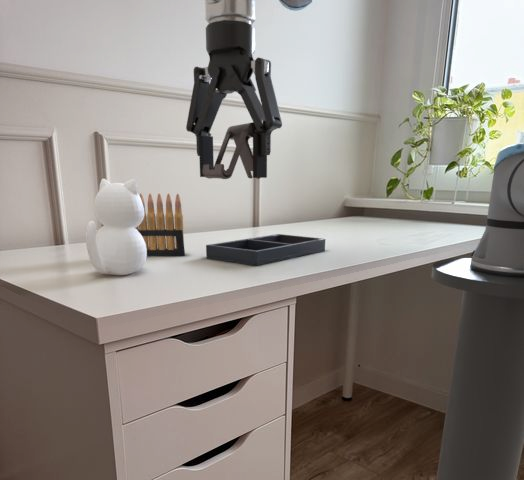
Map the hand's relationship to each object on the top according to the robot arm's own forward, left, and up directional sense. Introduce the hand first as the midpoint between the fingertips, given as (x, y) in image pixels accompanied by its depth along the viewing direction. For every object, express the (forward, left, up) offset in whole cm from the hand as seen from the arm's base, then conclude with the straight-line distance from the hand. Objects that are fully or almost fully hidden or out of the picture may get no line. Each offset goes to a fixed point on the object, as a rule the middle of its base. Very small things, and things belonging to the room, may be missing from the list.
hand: (232, 177), depth 86 cm
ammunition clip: (+21, -2, -16) cm, 26 cm away
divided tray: (+5, -18, -15) cm, 24 cm away
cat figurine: (+12, +15, -16) cm, 25 cm away
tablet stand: (0, 0, 0) cm, 0 cm away
